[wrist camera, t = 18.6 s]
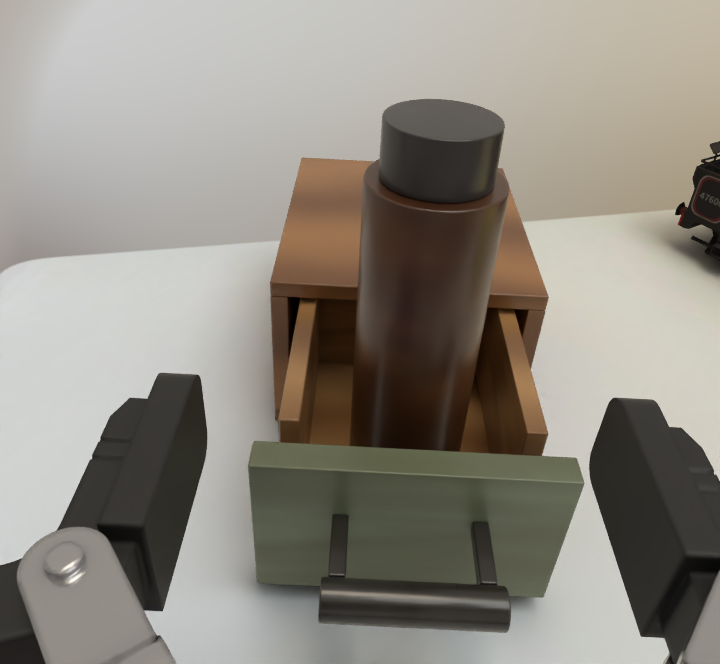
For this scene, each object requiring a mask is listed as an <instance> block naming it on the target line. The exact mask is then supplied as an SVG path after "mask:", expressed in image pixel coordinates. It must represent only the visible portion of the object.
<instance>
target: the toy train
mask: <svg viewBox="0 0 720 664" xmlns="http://www.w3.org/2000/svg"><path fill="white" fill-rule="evenodd" d="M710 147H711V149H712V151H713V153H714V154H716V155H715V156H713V157H710V158H706V159H702V160H701V162H703V163H704V164H701V165H700V166H697V167H696V170H695V173H694V176H693V183H694V188H695V189H694V192H693V195H692V198H691V201H690V203H689V206H688V208H687V207H685V203H684V202H683V203H681V204H680V205H679V206H678V207H677V209H676V213H675V215H680V214H681V217H680V220H679V223H678V225H679V226H681V227H683V228H687V229H689V228H692V227H695V226H698V225H704V226H706V227H708V228H710V229H712V231H713V237H712V239H711V241H710V243H707V242H705V241H702V240H700V239H698V238H696V237H694V236H692V237H691V239H692V240H695V241H697V242H699V243H701V244H703V245H705V246H707V249H706V251H705V253H706V254H708V255H710V256H712V257H714V258H716V259H718V260H720V159H718V160H716V158H717V157H719V156H720V154H719V155H717V153H719V152H720V141H719V142H716V143H712V144H710ZM713 158H714V161H711V162H706V160H709V159H713ZM711 250H712V251H711Z"/></svg>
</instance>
